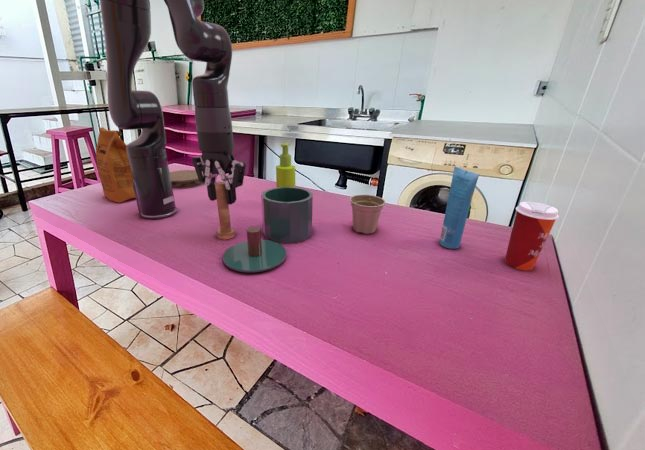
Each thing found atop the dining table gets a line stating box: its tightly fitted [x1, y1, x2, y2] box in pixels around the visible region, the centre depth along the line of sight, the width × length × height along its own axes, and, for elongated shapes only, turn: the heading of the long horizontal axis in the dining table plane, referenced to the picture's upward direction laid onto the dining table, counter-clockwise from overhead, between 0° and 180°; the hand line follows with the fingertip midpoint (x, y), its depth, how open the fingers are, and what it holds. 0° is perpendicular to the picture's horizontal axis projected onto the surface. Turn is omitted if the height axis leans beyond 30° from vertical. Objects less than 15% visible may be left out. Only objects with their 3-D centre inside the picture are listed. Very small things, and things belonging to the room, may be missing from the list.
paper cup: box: [504, 201, 560, 272], centre depth 66 cm, size 8×8×14 cm
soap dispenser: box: [275, 142, 296, 188], centre depth 94 cm, size 6×7×20 cm
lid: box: [222, 226, 287, 273], centre depth 66 cm, size 14×14×7 cm
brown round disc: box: [169, 169, 205, 190], centre depth 117 cm, size 16×16×3 cm
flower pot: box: [349, 194, 386, 235], centre depth 81 cm, size 9×9×9 cm
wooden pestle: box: [215, 180, 236, 240], centre depth 74 cm, size 4×4×14 cm
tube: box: [438, 166, 480, 250], centre depth 72 cm, size 7×5×19 cm, turn 26°
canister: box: [260, 186, 314, 244], centre depth 78 cm, size 13×13×11 cm
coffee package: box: [95, 126, 136, 203], centre depth 96 cm, size 10×12×22 cm
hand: (222, 201), depth 73 cm, fingers open, 4 cm apart
